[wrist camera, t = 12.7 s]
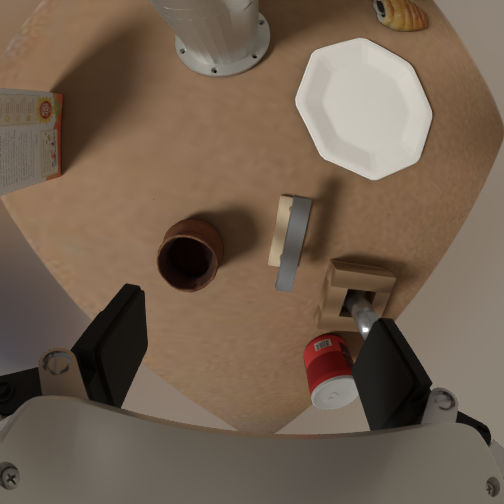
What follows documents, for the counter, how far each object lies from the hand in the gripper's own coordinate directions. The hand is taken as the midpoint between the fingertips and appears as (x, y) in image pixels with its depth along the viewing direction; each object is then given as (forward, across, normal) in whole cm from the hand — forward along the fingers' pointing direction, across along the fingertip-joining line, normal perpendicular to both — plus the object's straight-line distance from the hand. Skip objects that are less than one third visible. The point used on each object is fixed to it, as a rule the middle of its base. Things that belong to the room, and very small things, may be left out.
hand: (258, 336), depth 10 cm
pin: (+28, -17, +12) cm, 35 cm away
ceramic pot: (+29, +8, +8) cm, 31 cm away
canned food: (+28, -16, +24) cm, 41 cm away
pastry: (+29, -16, -34) cm, 48 cm away
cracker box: (+28, +35, -7) cm, 46 cm away
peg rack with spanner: (+28, -5, +4) cm, 29 cm away
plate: (+29, -13, -16) cm, 35 cm away
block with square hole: (+28, -17, +12) cm, 35 cm away
